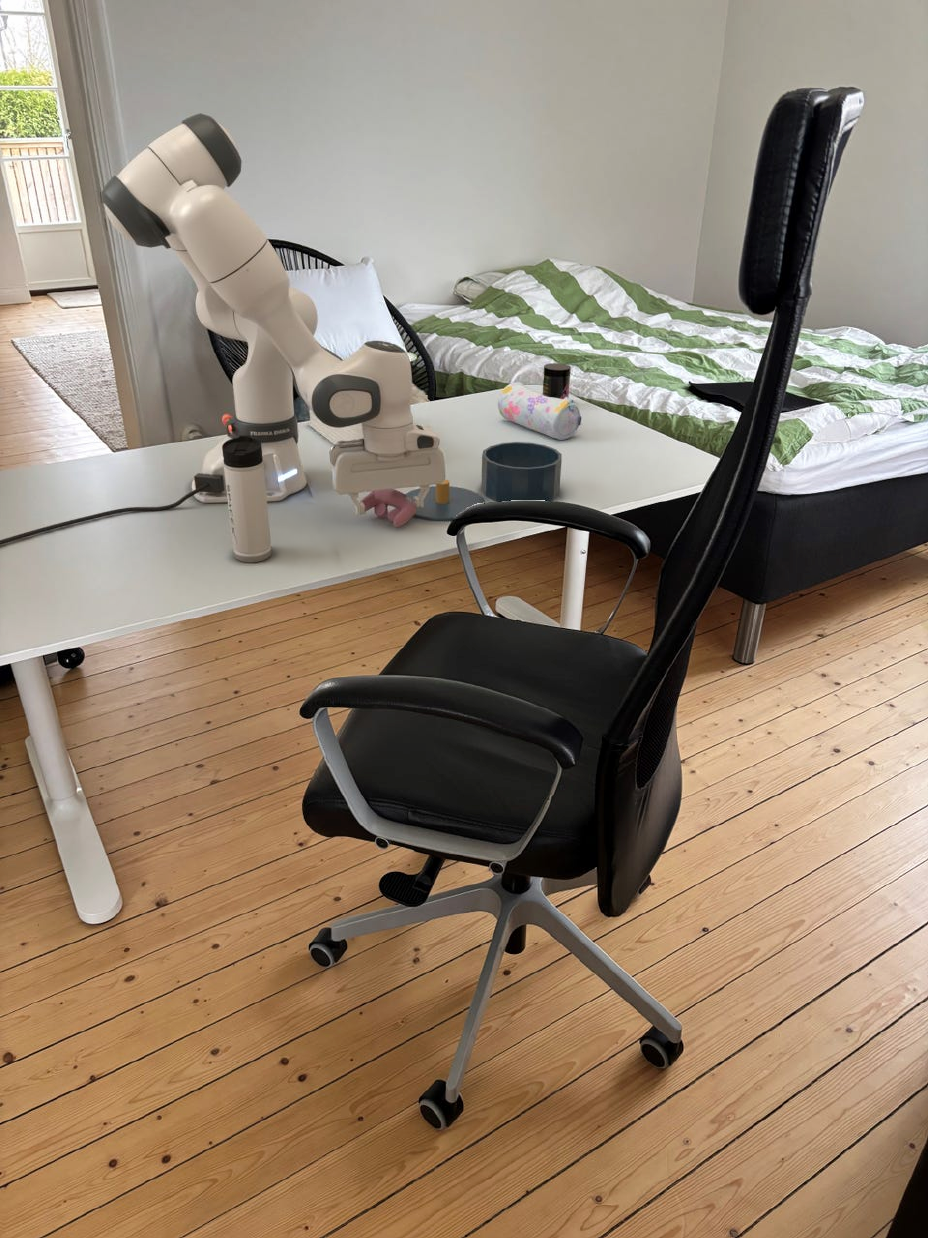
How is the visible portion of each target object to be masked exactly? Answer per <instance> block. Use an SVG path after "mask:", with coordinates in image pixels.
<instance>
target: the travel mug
mask: <svg viewBox="0 0 928 1238" xmlns="http://www.w3.org/2000/svg"><path fill="white" fill-rule="evenodd" d="M222 451H223V458H224V459H223V460H224V472H225V481H226V489H227V498H228V502H227V506H228V515H229V524H230V531H231V532H230V534H231V541H232V550H233V557H234V559H236V560H237V561H239V562H242V563H250V564H251V563H259V562H262V561H265V560H267V559H269V558H270V557H271V555H272V543H271V542H272V541H271V532H270V531H271V530H270V523H269V522H270V519H269V508H268V501H267V497H266V486H265V475H264V465H263V457H262V447H261V442H260V441H259V440H257V439H255V438H250V435H240V436H239V438H233V439H230V440H228V441H226V442H225V443H224V444H223V445H222Z"/></svg>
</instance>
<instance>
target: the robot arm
mask: <svg viewBox="0 0 928 1238" xmlns="http://www.w3.org/2000/svg"><path fill="white" fill-rule="evenodd" d="M242 162H243V161H242V159H241V156H240V152H239V150H238V146H237V144H236V141H235V140H234V138H233V137H232V135H231V134H230V132H229V131H228V130H227V129H226V128H225V127H224V126H223V125H222V124H221V123H219V122H218V121H216V120H215V118H213V117H212V116H210V115H207V114H204V113H200V112H199V113H197V114H194V115H191V116H189V117H186V118H185V119H183V120H181V124H179V125H177V126H175V127H174V128H172V129H170V130H169V131H167V132H165V133H164V134H162V135H160V136H159V137H158V138H156V139H155V140H153V141H152V142H151V143H149V144H147V146H146V148H145V149H144V150H143V151H141V152H140V153H139V154H137V155H136V156H135V157H134V158H133V159H132V160H131V161H130V162H129V163H128V164H127V165H126V166H125V167H124V168H122V170H121V171H120V172H119V173H118V174H117V175H113V176H112V177H110V179H109V180H108V181H107V183H106V184H105V185H104V187H103V188H102V190H101V202H102V204H103V206H104V210H105V213H106V215H107V218H108V219H109V221H110V223H111V225H113V227H114V228H115V230H116V231H117V232H118V233H119V234H120V235H121V236H123V237H124V238H125V239H127V240H129V241H131V242H133V243H134V244H135V245H136V246H140V247H143V248H144V247H145V248H149V249H150V248H156V247H161V246H163V247H164V248H165V249H167V250H168V249H172V251H173V252H174V254H175V255H176V257H177V258H178V259H179V261H180V262H181V263H182V265H183V267H184V268H185V270H187V272H188V273H189V275H190V276H191V279H192V280H193V282H194V283H195V286H196V288H197V291H198V292H197V294H196V297H195V312H196V316H197V318H198V320H199V322H200V323H201V324H202V325H203V326H204V327H205V328H206V329H207V330H210V331H211V332H213V333H215V334H217V335H219V336H222V337H224V338H227V339H232V340H235V341H236V340H237V341H241V342H246V343H247V347H248V350H247V358H246V361H245V364H242V366H240V367H239V368H238V369H236V371H235V372H234V373H233V376H232V389H233V390H232V391H233V400H234V401H233V402H234V411H235V414H234V415H233V416H232V415H231V414H230V413H225V414H223V416H222V417H221V418H222V419H221V420H222V424H223V425H224V426H225V430H226V436H225V437H224V438H223V439H221V441H219V442H218V443H216V445H215V446H214V447H212V448H211V449H210V450H208V451H207V452H206V453H205V455H204V457H203V461H202V464H201V465H202V466H201V473H200V472H198V473H196V474H195V475H194V476H193V480H192V482H191V491H190V492H188V493H187V494H185V495H184V496H182V497H181V498H180V499H178V500H177V501H176V502H173V503H170V504H167V505H161V506H132V507H131V506H130V507H123V508H117V509H112V510H107V511H103V512H98V513H95V514H91V515H87V516H82V517H77V518H74V519H71V520H67V521H63V522H59V523H55V524H51V525H48V526H44V527H40V528H36V529H33V530H30V531H26V532H22V533H19V534H16V535H12V536H9V537H5V538H2V539H0V546H1V545H4V544H8V543H11V542H14V541H18V540H21V539H24V538H27V537H31V536H34V535H38V534H41V533H42V534H43V533H45V532H48V531H52V530H56V529H59V528H63V527H67V526H71V525H75V524H79V523H83V522H89V521H91V520H95V519H99V518H103V517H108V516H113V515H118V514H123V513H129V512H130V513H131V512H161V511H167V510H170V509H174V508H176V507H178V506H180V505H181V504H183V503H185V502H186V500H189V498H191V497H194V498H195V499H196V500H197V501H199V502H201V503H205V504H211V503H212V504H214V503H217V504H219V503H228V498H227V489H226V481H225V472H224V460H223V459H224V458H223V451H222V445H223V444H224V443H225V442H226V441H228V440H230V439H233V438H239V436H240V435H250V438H255V439H257V440H259V441H260V442H261V447H262V457H263V465H264V475H265V486H266V497H267V502H280V501H282V500H284V499H286V498H287V497H289V496H290V495H292V494H296V493H297V492H299V491H301V490H303V489H304V488H305V487H306V486H307V484H308V480H307V477H306V474H305V471H304V469H303V465H302V461H301V456H300V452H299V446H298V443H299V424H298V418H297V414H296V412H295V410H294V409H295V407H294V389H295V391H296V393H297V395H298V397H299V398H300V400H302V402H303V403H304V404H306V405H307V407H308V409H309V408H310V409H311V410H312V412H313V413H314V414H315V416H316V417H317V418H318V419H319V420H320V421H321V422H322V423H324V424H326V425H328V426H330V427H335V428H342V427H347V426H352V425H356V424H359V423H362V435H363V439H357V440H351V441H339V442H337V444H335V445H334V444H333V445H332V446H331V447H330V449H329V462H330V464H331V465H332V467H331V468H332V469H331V484H332V487H333V490H334V491H335V492H336V493H338V494H339V495H348V496H349V498H350V500H351V501H352V503H353V504H354V508H355V509H354V511H355V514H356V516H360V515H366V511H365V505H364V503H363V502H360V501H358V500H357V499H358V498H359V494H360V493H366V492H367V493H369V492H372V491H378V490H387V489H394V490H397V489H404V488H414V487H419V488H421V490H420V492H419V494H418V496H415V497H413V500H414V502H413V503H414V504H415V506H416V508H423V507H424V499H425V497H426V495H427V494H428V492H429V487H430V486H435V485H436V484H441V483H442V482H443V480H444V479H445V480H446V464H445V457H444V453H443V451H442V449H440V447H439V446H440V443H441V442H440V441H441V439H440V437H439V435H438V433H437V432H436V431H435V430H434V429H432V428H431V427H430V426H428V425H426V424H422V423H417V422H414V419H413V418H414V417H413V413H412V410H411V409H412V408H411V404H412V400H413V374H412V365H411V361H410V356H409V354H408V352H407V351H406V350H405V349H403V348H402V347H401V346H399V345H397V344H395V343H391V342H388V341H383V340H369V341H365V342H364V343H363V344H362V345H361V346H360V348H359V349H357V350H356V351H355V352H354V353H352V354H351V355H349V356H348V357H346V358H341V357H340V356H339V355H338V354H336V353H334V352H333V351H331V350H329V349H327V347H326V348H325V347H324V346H322V344H320V342H318V340H317V339H316V338H315V337H314V335H315V334H316V332H317V328H318V321H319V318H318V310H317V307H316V304H315V302H314V301H313V299H312V297H310V296H309V295H308V294H306V293H305V292H303V291H300V290H298V289H297V288H294V287H291V286H290V284H291V283H290V277H289V276H288V273H287V271H286V269H285V267H284V264H283V263H282V260H281V258H280V257H279V255H278V253H277V251H276V250H275V248H274V247H273V246H272V244H271V242H270V241H269V239H268V238H267V237H266V235H265V234H264V232H263V231H262V230H261V228H260V227H259V225H257V223H256V222H255V221H254V219H253V217H251V216H250V215H249V213H248V212H247V211H246V210H245V209H244V207H242V206H241V204H239V202H238V201H237V199H235V198H233V196H232V195H230V193H229V192H228V191H226V190H225V189H226V188H230V187H231V186H232V185H233V184H234V182H235V181H236V180H237V178H239V176H240V174H241V171H242V165H243V164H242ZM293 386H294V389H293ZM310 409H309V410H310ZM337 446H338V447H337ZM359 502H360V503H359Z"/></svg>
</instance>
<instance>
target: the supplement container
mask: <svg viewBox="0 0 928 1238" xmlns="http://www.w3.org/2000/svg"><path fill="white" fill-rule="evenodd" d="M571 371H572V367H571V365H569V364H565V363H560V362H558V363H557V362H556V363H555V362H554V363H546V364H544V365H543V379H542V380H543V381H542V393H541V394H542V395H544V396H547V397H553V398H559V399H564V398H565V397H568V399H570V398H569V397H570V384H571V373H572V372H571Z"/></svg>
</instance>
